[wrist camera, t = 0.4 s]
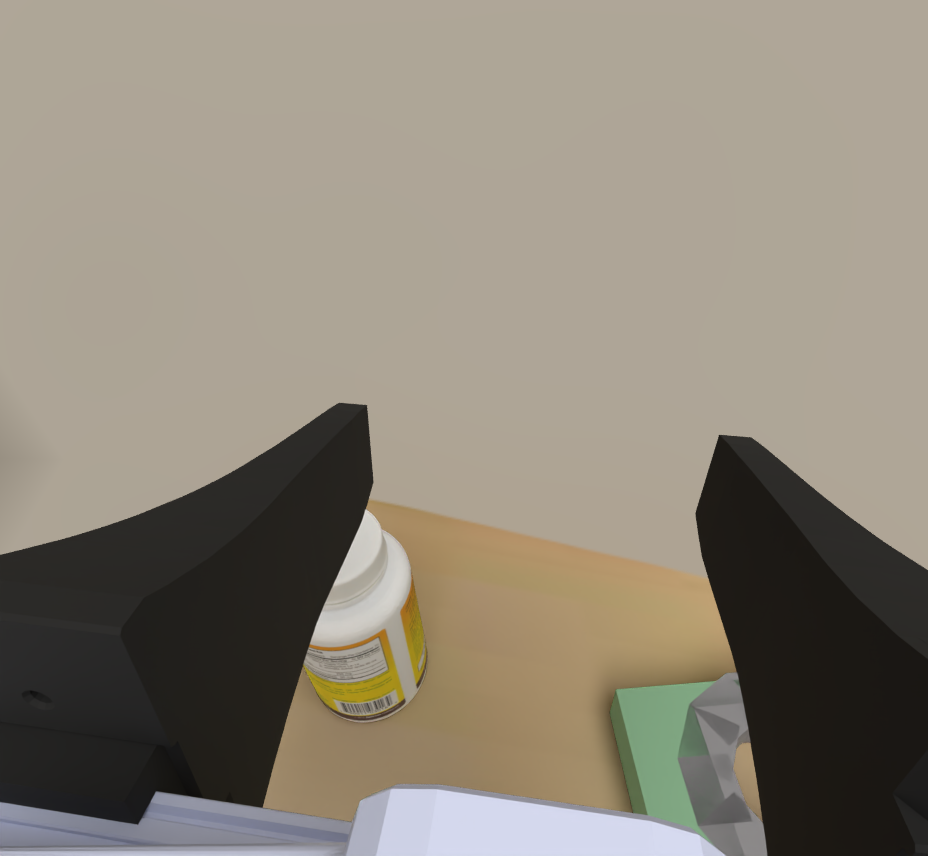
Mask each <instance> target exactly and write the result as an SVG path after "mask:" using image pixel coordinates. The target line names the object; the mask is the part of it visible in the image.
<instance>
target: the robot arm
mask: <svg viewBox="0 0 928 856" xmlns="http://www.w3.org/2000/svg"><path fill="white" fill-rule="evenodd" d="M372 485H373V472H372V460H371V448H370V436H369V424H368V413H367V405H358V404H346V403H338V404H336V405H335V406H333V407H332V408H330V409H328V410H327V411H326V412H324V413H323V414H321V415H320V416H318V417H317V418H315V419H314V420H313V421H311V422H310V423H308V424H307V425H305V426H304V427H302V428H301V429H299V430H298V431H297V432H295V433H294V434H292V435H291V436H289V437H288V438H286V439H285V440H283V441H282V442H280V443H279V444H277V445H276V446H274V447H273V448H271V449H269V450H268V451H266V452H265V453H263V454H261V455H259V456H258V457H256V458H255V459H253V460H251V461H250V462H248V463H247V464H245V465H244V466H242V467H240V468H238V469H236V470H235V471H233V472H231V473H229V474H228V475H226V476H224V477H222V478H220V479H218V480H216V481H214V482H212V483H210V484H208V485H206V486H205V487H202V488H200V489H198V490H196V491H194V492H192V493H189V494H187V495H185V496H183V497H180V498H178V499H176V500H173V501H171V502H168V503H166V504H163V505H161V506H159V507H156V508H154V509H151V510H149V511H146V512H144V513H141V514H139V515H136V516H133V517H131V518H128V519H125V520H122V521H119V522H116V523H113V524H111V525H108V526H105V527H101V528H98V529H95V530H92V531H89V532H86V533H82V534H79V535H76V536H72V537H69V538H65V539H62V540H58V541H54V542H50V543H46V544H42V545H38V546H34V547H30V548H26V549H23V550H19V551H15V552H11V553H6V554H2V555H0V856H726V855H725V854H723V853H722V852H721V851H720V850H719V849H717V848H716V847H715V846H714V845H712V844H711V843H710V842H709V841H707V840H706V839H705V838H703V837H702V836H701V835H700V834H698V833H697V832H696V831H694V830H693V829H692V828H690V827H687V826H684V825H680V824H677V823H673V822H670V821H666V820H663V819H659V818H656V817H652V816H649V815H643V814H636V813H629V812H622V811H616V810H609V809H602V808H595V807H589V806H582V805H575V804H568V803H562V802H555V801H548V800H542V799H535V798H528V797H521V796H515V795H508V794H501V793H494V792H488V791H481V790H474V789H467V788H461V787H454V786H447V785H440V784H397V785H394V786H391V787H389V788H386V789H384V790H381V791H379V792H376V793H373V794H371V795H369V796H367V797H366V798H364V799H362V800H361V801H360V803H359V805H358V808H357V810H356V813H355V815H354V818H353V820H352V822H349V821H343V820H336V819H330V818H324V817H317V816H311V815H304V814H298V813H292V812H285V811H279V810H273V809H266V808H263V804H264V800H265V796H266V792H267V788H268V785H269V781H270V777H271V773H272V769H273V765H274V762H275V758H276V755H277V751H278V748H279V744H280V741H281V737H282V734H283V730H284V726H285V723H286V719H287V716H288V712H289V709H290V706H291V703H292V699H293V696H294V693H295V689H296V686H297V683H298V680H299V676H300V673H301V670H302V667H303V664H304V661H305V658H306V654H307V651H308V648H309V645H310V642H311V639H312V636H313V633H314V630H315V627H316V624H317V622H318V619H319V617H320V614H321V612H322V609H323V607H324V604H325V602H326V600H327V598H328V596H329V593H330V591H331V589H332V587H333V585H334V582H335V580H336V578H337V576H338V574H339V571H340V569H341V567H342V565H343V563H344V560H345V558H346V556H347V554H348V552H349V549H350V547H351V545H352V543H353V540H354V538H355V536H356V534H357V531H358V529H359V527H360V525H361V522H362V519H363V516H364V513H365V510H366V506H367V503H368V499H369V496H370V492H371V489H372ZM696 521H697V528H698V535H699V542H700V547H701V553H702V558H703V561H704V565H705V568H706V572H707V575H708V578H709V582H710V585H711V588H712V591H713V595H714V598H715V601H716V604H717V607H718V610H719V614H720V617H721V620H722V623H723V626H724V630H725V633H726V636H727V639H728V642H729V645H730V649H731V652H732V655H733V659H734V663H735V667H736V670H737V674H738V678H739V684H740V689H741V694H742V699H743V704H744V709H745V714H746V720H747V725H748V731H749V736H750V742H751V748H752V754H753V760H754V766H755V772H756V778H757V785H758V792H759V798H760V805H761V812H762V819H763V826H764V833H765V840H766V849H767V856H928V570H927V569H925V568H924V567H922V566H920V565H918V564H917V563H916V562H914V561H913V560H911V559H909V558H908V557H906V556H905V555H903V554H902V553H900V552H898V551H897V550H895V549H894V548H892V547H891V546H889V545H888V544H886V543H885V542H883V541H882V540H880V539H879V538H878V537H876V536H875V535H873V534H872V533H871V532H869V531H868V530H867V529H865V528H864V527H862V526H861V525H860V524H858V523H857V522H856V521H854V520H853V519H852V518H850V517H849V516H848V515H846V514H845V513H844V512H842V511H841V510H840V509H838V508H837V507H836V506H835V505H833V504H832V503H831V502H830V501H828V500H827V499H826V498H824V497H823V496H822V495H821V494H820V493H818V492H817V491H816V490H815V489H814V488H812V487H811V486H810V485H809V484H807V483H806V482H805V481H804V480H803V479H801V478H800V477H799V476H798V475H797V474H796V473H794V472H793V471H792V470H791V469H790V468H788V467H787V466H786V465H785V464H784V463H783V462H781V461H780V460H779V459H778V458H777V457H775V456H774V455H773V454H772V453H771V452H769V451H768V450H767V449H766V448H764V447H763V446H762V445H761V444H759V443H758V442H757V441H755V440H754V439H753V438H750V437H738V436H727V435H719V437H718V441H717V444H716V447H715V450H714V454H713V457H712V461H711V464H710V467H709V470H708V473H707V477H706V480H705V484H704V487H703V490H702V493H701V497H700V500H699V503H698V506H697V510H696Z"/></svg>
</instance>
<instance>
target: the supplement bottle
mask: <svg viewBox="0 0 928 856" xmlns="http://www.w3.org/2000/svg"><path fill="white" fill-rule="evenodd" d="M303 666H304V668H305V670H306V672H307V674H308V676H309V678H310V680H311V682H312V684H313V686H314V688H315V690H316V692H317V694H318V696H319V698H320V699H321V701H322V702H323V703H324V705H325V706H326V707H327V708H328V709H329V710H330V711H331V712H333V713H334V714H336V715H337V716H339V717H341V718H343V719H346V720H349V721H353V722H365V723H366V722H374V721H378V720H382V719H385V718H387V717H389V716H391V715H393V714H395V713H397V712H398V711H400V710H401V709H402V708H404V707H405V706H406V705H407V704H408V703H409V702H410V701H411V700H412V699H413V697H414V696H415V695H416V693H417V692H418V690H419V688H420V687H421V684H422V682H423V680H424V677H425V674H426V669H427V648H426V643H425V638H424V633H423V628H422V623H421V618H420V613H419V608H418V603H417V598H416V593H415V588H414V582H413V577H412V572H411V567H410V563H409V560H408V556H407V554H406V552H405V550H404V549H403V547H402V546H401V544H400V543H399V542H398V541H397V540H396V539H395V538H394V537H393V536H392V535H391V534H389V533H388V532H386V531H384V530H382V529H381V526H380V524H379V522H378V520H377V519H376V518H375V516H374V515H373V514H372V513H370V512H369V511H368V510H365V513H364V516H363V519H362V522H361V525H360V527H359V529H358V531H357V534H356V536H355V538H354V540H353V543H352V545H351V547H350V549H349V552H348V554H347V556H346V558H345V560H344V563H343V565H342V567H341V569H340V571H339V574H338V576H337V578H336V580H335V582H334V585H333V587H332V589H331V591H330V593H329V596H328V598H327V600H326V602H325V604H324V607H323V609H322V612H321V614H320V617H319V619H318V622H317V624H316V627H315V630H314V633H313V636H312V639H311V642H310V645H309V648H308V651H307V654H306V658H305V661H304V664H303Z"/></svg>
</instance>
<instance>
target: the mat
mask: <svg viewBox="0 0 928 856" xmlns="http://www.w3.org/2000/svg"><path fill="white" fill-rule="evenodd" d="M610 717H611V721H612V725H613V729H614V733H615V738H616V742H617V746H618V750H619V755H620V759H621V763H622V767H623V771H624V776H625V780H626V784H627V788H628V792H629V797H630V801H631V805H632V809H633V813H636V814H643V815H649V816H652V817H656V818H659V819H663V820H666V821H670V822H673V823H677V824H680V825H684V826H687V827H690V828H692V829H693V830H694V831H696V832H697V833H698V834H700V835H701V836H702V837H703V838H705V839H706V840H707V841H709V842H710V843H711V844H712V845H714V846H715V847H716V848H717V849H719V850H720V851H721V852H722V853H723V854H725V855H726V856H767V849H766V840H765V833H764V826H763V822H762V821H761V820H760V819H759V818H758V817H757V816H756V815H755V814H754V813H753V811H752V810H751V809H750V808H749V807H748V806H747V805H746V802H745V800H744V797H743V794H742V791H741V789H740V786H739V783H738V780H737V778H736V775H735V772H734V769H733V766H734V760H735V753H736V748H737V747H738V746H739V745H741V744H742V743H747V742H750V736H749V731H748V725H747V720H746V714H745V709H744V704H743V699H742V694H741V689H740V684H739V678H738V674H737V672H736V673H725V674H724V675H723V676H722V677H721V678H719V679H718V680H717V681H712V682H699V683H687V684H675V685H663V686H651V687H638V688H626V689H616V691H615V695H614V699H613V702H612V706H611V710H610Z"/></svg>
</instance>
